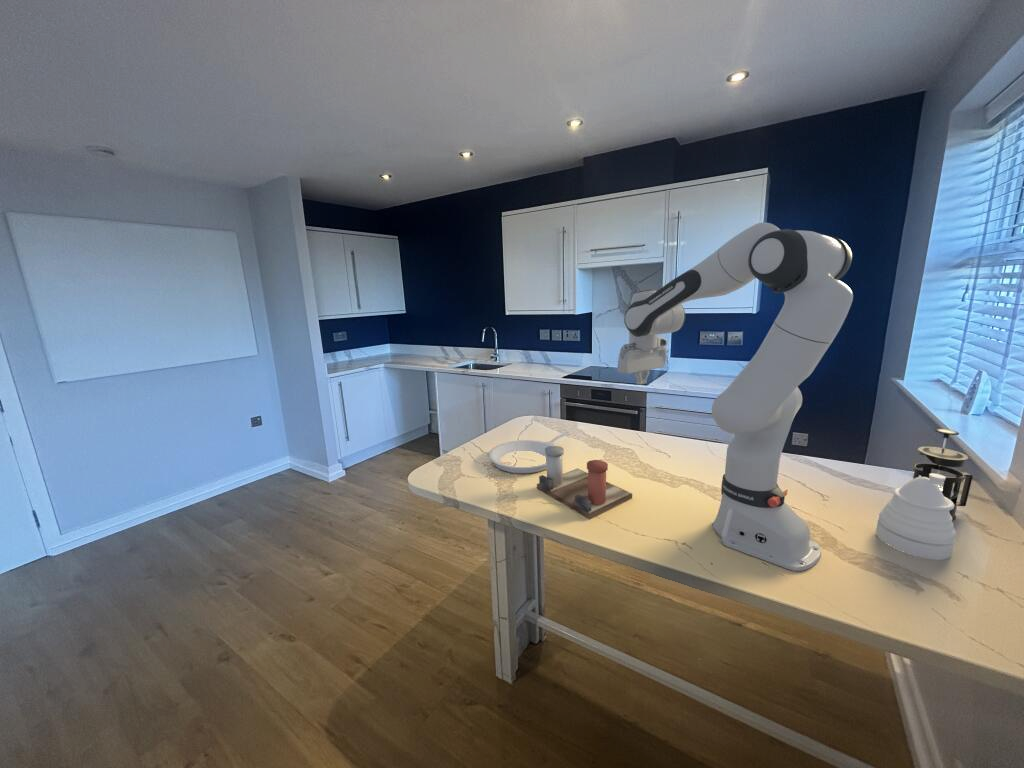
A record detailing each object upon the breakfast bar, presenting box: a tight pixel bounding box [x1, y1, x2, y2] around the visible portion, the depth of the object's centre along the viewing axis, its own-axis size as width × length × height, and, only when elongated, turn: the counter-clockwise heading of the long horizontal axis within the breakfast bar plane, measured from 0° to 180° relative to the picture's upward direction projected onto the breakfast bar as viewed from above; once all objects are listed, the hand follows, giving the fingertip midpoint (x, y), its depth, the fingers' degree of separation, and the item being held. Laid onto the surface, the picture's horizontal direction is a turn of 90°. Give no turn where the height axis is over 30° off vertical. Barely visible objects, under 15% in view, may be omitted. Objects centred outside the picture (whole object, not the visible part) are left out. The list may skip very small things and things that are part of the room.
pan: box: [488, 431, 571, 475], centre depth 153 cm, size 26×39×5 cm
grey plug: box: [545, 445, 565, 486], centre depth 126 cm, size 6×6×11 cm
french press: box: [912, 428, 973, 522], centre depth 105 cm, size 12×9×23 cm
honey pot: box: [875, 472, 957, 561], centre depth 93 cm, size 13×13×18 cm
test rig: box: [536, 468, 633, 520], centre depth 124 cm, size 23×18×4 cm
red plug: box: [586, 459, 609, 505], centre depth 115 cm, size 6×6×11 cm
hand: (641, 383), depth 132 cm, fingers closed
